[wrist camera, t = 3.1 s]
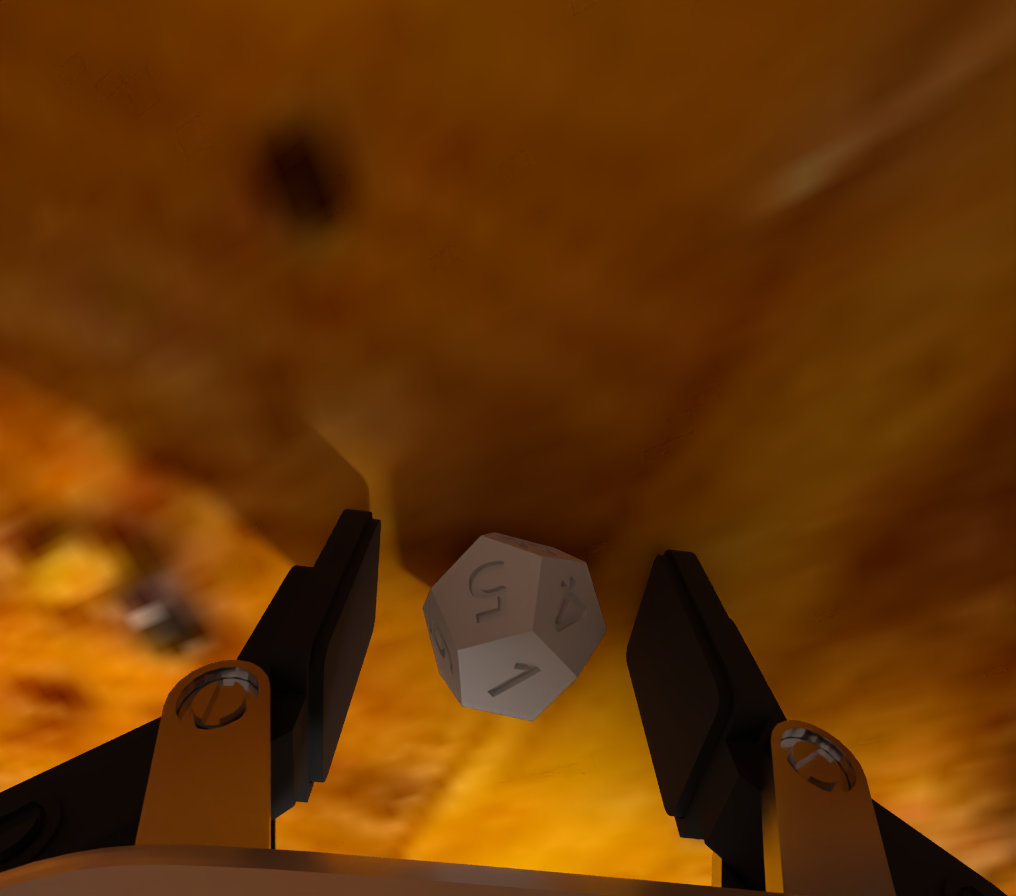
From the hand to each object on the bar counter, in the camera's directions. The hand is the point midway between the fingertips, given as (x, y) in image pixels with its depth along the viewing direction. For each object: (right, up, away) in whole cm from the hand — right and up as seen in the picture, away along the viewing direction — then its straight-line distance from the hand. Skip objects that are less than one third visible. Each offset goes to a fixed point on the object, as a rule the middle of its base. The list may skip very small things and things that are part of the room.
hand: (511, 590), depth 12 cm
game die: (0, 0, +1) cm, 1 cm away
